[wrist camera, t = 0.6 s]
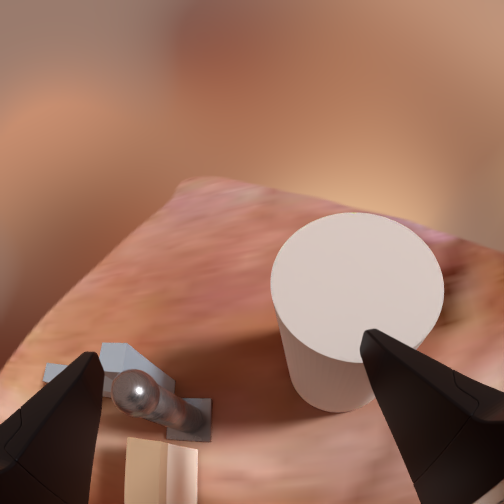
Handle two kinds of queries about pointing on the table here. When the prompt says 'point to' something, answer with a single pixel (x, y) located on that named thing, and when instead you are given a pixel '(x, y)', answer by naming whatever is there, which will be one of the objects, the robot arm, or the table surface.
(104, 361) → the strip
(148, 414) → the grey metallic round-topped post
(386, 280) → the off-white flat-topped cylinder
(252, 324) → the table surface
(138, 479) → the beige flat block
